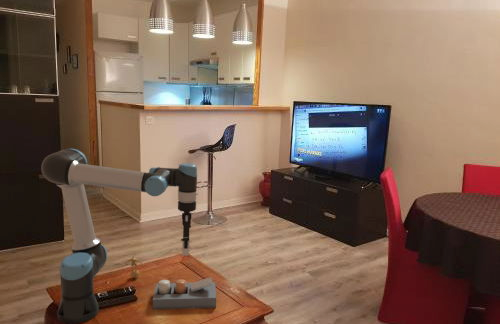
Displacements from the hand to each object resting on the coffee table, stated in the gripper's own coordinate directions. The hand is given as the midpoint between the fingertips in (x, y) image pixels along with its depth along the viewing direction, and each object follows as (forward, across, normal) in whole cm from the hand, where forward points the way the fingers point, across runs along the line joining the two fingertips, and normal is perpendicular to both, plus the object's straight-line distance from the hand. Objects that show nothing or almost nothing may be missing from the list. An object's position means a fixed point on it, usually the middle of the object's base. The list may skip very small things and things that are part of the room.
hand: (185, 248), depth 169 cm
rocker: (+16, -2, -7) cm, 18 cm away
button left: (+19, -1, +9) cm, 21 cm away
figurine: (+24, +20, +24) cm, 39 cm away
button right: (+19, -2, +2) cm, 19 cm away
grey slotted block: (+23, -2, 0) cm, 23 cm away
